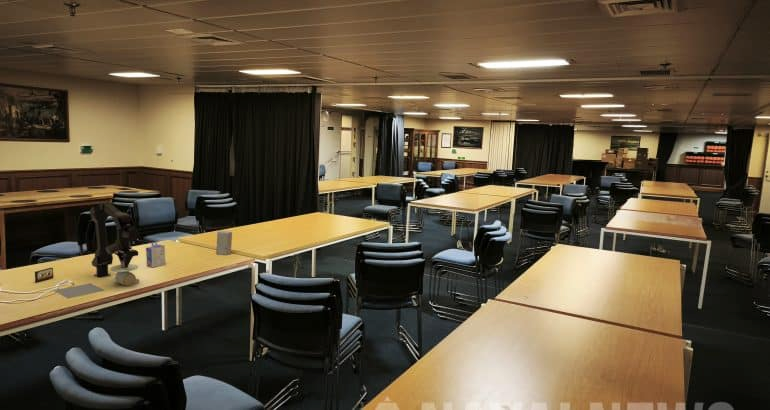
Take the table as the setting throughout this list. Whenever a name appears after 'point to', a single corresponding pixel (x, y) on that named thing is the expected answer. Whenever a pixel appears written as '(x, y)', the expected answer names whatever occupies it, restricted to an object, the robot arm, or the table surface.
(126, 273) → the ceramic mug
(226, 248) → the skincare box
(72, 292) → the rubber mat
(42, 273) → the audio cassette
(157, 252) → the ink cartridge box
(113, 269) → the round lid
